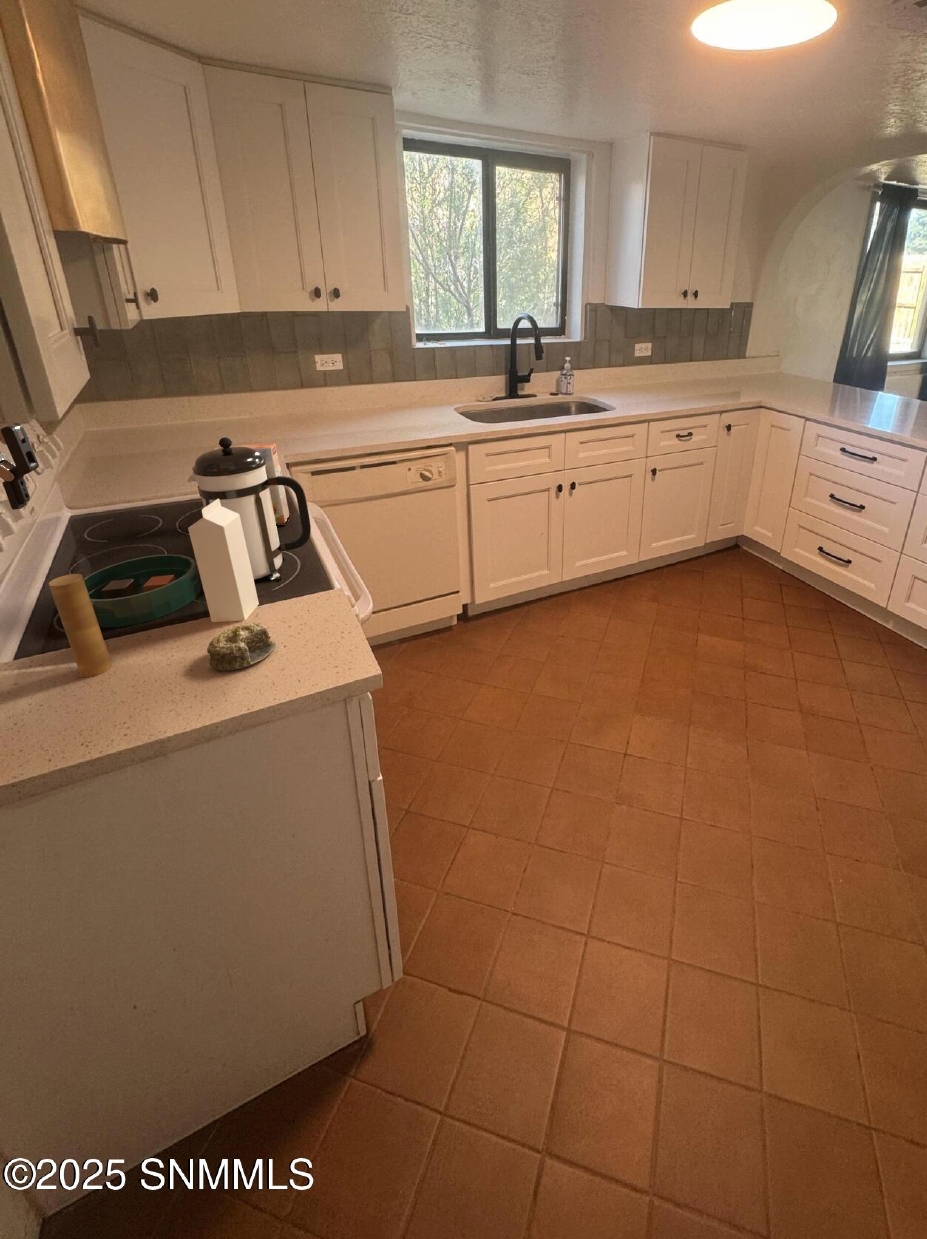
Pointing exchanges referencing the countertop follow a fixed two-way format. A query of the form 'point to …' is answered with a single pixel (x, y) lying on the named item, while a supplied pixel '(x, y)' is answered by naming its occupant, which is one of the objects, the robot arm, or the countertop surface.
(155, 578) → the terracotta block
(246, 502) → the coffee press
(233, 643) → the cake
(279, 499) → the cracker box
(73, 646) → the tan cylinder
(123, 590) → the walnut block
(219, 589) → the milk
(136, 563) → the bowl
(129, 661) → the countertop surface
